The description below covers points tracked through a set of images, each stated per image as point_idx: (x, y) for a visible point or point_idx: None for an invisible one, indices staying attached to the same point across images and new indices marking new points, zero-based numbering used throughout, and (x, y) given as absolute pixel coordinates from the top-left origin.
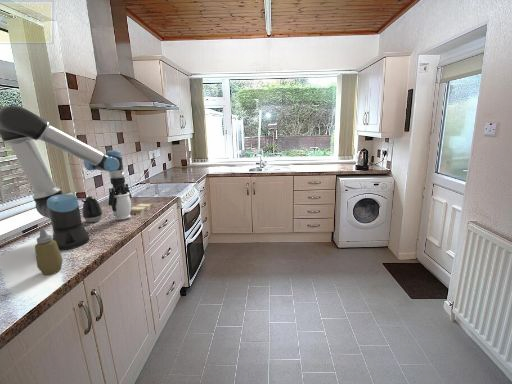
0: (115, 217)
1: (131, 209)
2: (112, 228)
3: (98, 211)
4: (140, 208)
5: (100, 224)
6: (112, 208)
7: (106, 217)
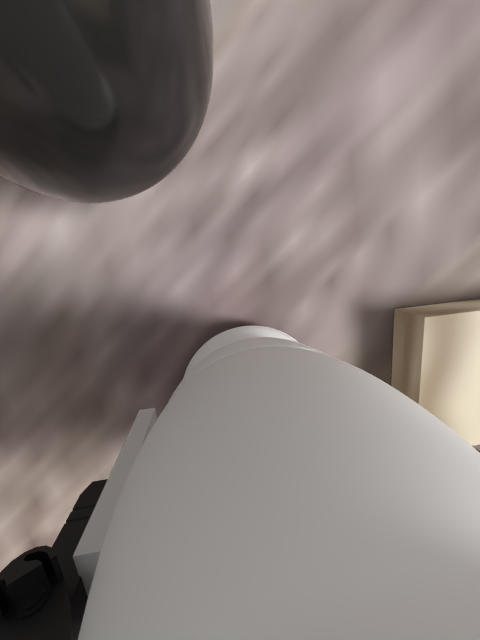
0: (198, 356)
1: (432, 355)
2: (22, 481)
3: (46, 176)
4: (466, 420)
5: (51, 294)
6: (63, 533)
7: (246, 168)
